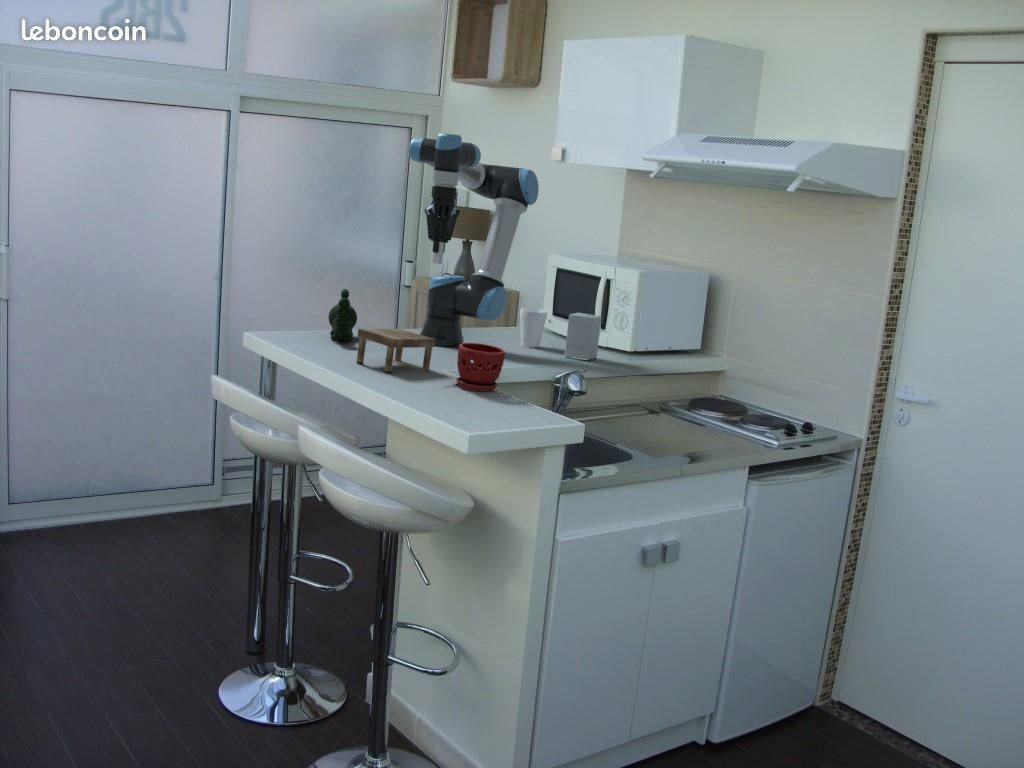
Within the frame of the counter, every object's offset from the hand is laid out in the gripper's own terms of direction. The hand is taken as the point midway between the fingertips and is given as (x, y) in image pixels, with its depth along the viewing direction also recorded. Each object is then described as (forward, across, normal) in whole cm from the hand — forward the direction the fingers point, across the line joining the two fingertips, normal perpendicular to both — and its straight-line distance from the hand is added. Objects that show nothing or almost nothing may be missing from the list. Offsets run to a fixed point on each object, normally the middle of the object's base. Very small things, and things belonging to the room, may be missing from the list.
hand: (437, 263), depth 339 cm
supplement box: (+31, -59, +13) cm, 68 cm away
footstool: (+25, +13, +8) cm, 29 cm away
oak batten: (+30, +16, +8) cm, 35 cm away
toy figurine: (+31, +6, -36) cm, 48 cm away
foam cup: (+31, -56, -8) cm, 64 cm away
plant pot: (+31, +13, +35) cm, 48 cm away
